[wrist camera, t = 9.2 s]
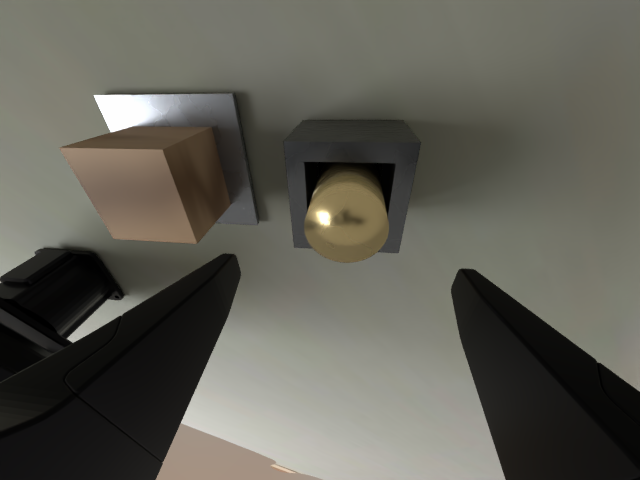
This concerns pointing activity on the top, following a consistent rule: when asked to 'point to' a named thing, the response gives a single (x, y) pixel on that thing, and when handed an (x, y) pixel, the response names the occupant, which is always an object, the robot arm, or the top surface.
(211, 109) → the plate
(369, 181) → the pin
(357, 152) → the press block
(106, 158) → the light brown cube-like block
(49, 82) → the top surface
